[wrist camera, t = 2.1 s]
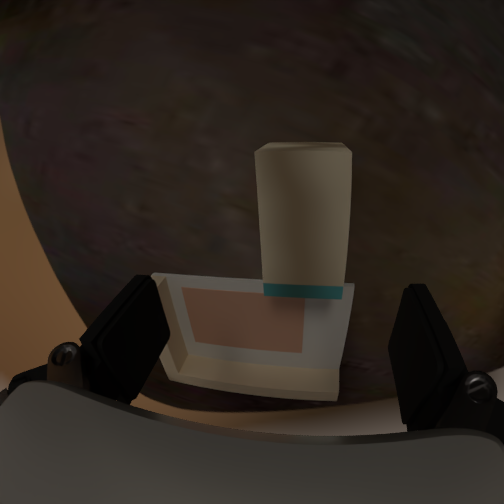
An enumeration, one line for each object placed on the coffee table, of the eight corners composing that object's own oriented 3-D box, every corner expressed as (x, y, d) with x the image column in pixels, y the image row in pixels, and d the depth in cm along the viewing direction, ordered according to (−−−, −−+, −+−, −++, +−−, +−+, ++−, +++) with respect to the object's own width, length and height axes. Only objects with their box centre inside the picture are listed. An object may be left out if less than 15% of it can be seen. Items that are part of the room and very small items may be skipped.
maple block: (342, 143, 17) (352, 152, 13) (338, 260, 21) (341, 299, 17) (269, 142, 18) (254, 151, 14) (274, 258, 22) (263, 295, 18)
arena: (353, 283, 22) (358, 310, 19) (336, 374, 27) (336, 400, 24) (153, 272, 26) (135, 293, 23) (180, 358, 31) (169, 379, 28)
